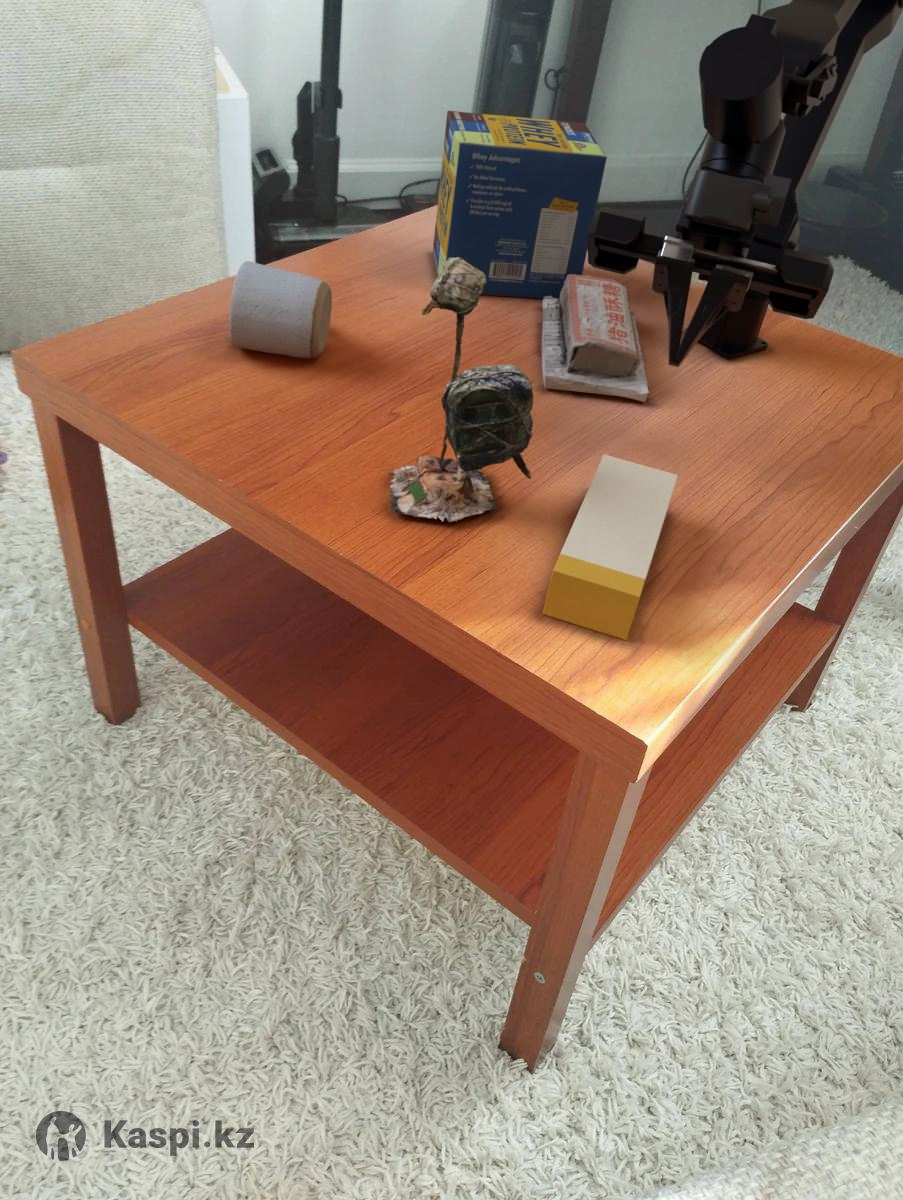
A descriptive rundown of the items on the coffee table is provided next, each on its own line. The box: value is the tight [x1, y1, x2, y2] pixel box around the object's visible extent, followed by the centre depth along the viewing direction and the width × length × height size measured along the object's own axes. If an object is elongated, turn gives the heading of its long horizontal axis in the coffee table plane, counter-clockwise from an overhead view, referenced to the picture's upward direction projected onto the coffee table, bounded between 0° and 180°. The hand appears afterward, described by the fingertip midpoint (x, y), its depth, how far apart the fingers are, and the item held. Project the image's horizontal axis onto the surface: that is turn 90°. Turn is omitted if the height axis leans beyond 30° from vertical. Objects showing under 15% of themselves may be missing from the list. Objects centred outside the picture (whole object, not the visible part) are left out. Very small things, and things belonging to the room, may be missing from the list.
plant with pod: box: [387, 257, 535, 523], centre depth 72 cm, size 8×11×20 cm
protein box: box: [432, 110, 608, 300], centre depth 106 cm, size 10×15×16 cm
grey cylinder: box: [228, 260, 333, 359], centre depth 92 cm, size 11×8×8 cm
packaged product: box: [541, 274, 650, 403], centre depth 98 cm, size 18×5×10 cm
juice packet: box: [542, 454, 679, 641], centre depth 73 cm, size 4×6×16 cm
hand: (673, 364), depth 78 cm, fingers closed
